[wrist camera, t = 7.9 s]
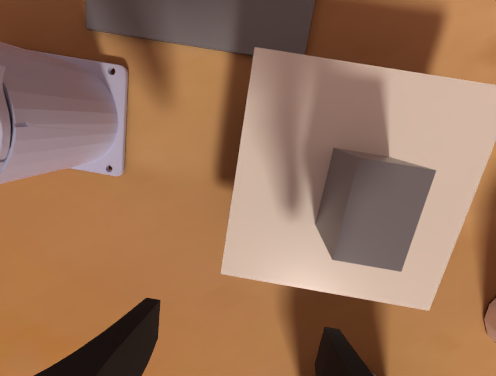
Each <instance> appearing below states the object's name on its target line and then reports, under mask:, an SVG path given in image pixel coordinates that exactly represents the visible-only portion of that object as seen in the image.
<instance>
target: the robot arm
mask: <svg viewBox="0 0 496 376" xmlns="http://www.w3.org/2000/svg"><path fill="white" fill-rule="evenodd" d="M113 68H114V69H115V74H114V75H112V73H111V70H112V69H113ZM127 90H128V71H127V69H126V68H125V67H124V66H121V65H118V64H112V63H106V62H100V61H94V60H87V59H81V58H75V57H69V56H63V55H57V54H50V53H44V52H38V51H32V50H27V49H23V48H20V47H17V46H13V45H10V44H7V43H3V42H0V184H2V183H6V182H10V181H14V180H19V179H23V178H27V177H31V176H36V175H40V174H44V173H48V172H53V171H57V170H61V169H65V168H71V169H77V170H83V171H89V172H95V173H101V174H106V175H112V176H119V175H122V174H123V173H124V164H125V139H126V115H127ZM109 165H110V166H111V167H112V169H113V170H112V171H110V170H109ZM159 312H160V300H157V299H151V298H146V299H144V300H143V301H142V302H141V303H139V304H138V305H137V306H136V307H134V308H133V309H132V310H131V311H129V312H128V313H127V314H126V315H124V316H123V317H122V318H121V319H119V320H118V321H117V322H116V323H114V324H113V325H112V326H110V327H109V328H108V329H106V330H105V331H104V332H102V333H101V334H100V335H98V336H97V337H95V338H94V339H93V340H91V341H90V342H88V343H87V344H85V345H84V346H83V347H81V348H80V349H78V350H77V351H75V352H74V353H72V354H70V355H69V356H67V357H66V358H64V359H62V360H61V361H59V362H58V363H56V364H54V365H53V366H51V367H49V368H47V369H45V370H44V371H42V372H40V373H38V374H36V375H34V376H142V374H143V372H144V370H145V368H146V366H147V364H148V362H149V359H150V357H151V354H152V352H153V349H154V347H155V344H156V342H157V339H158V327H159ZM315 371H316V376H374V375H373V374H372V373H371V371H370V370H369V369H368V368H367V366H366V365H365V364H364V362H363V361H362V360H361V359H360V357H359V356H358V354H357V353H356V352H355V350H354V349H353V348H352V346H351V345H350V344H349V342H348V341H347V340H346V338H345V337H344V336H343V334H342V333H341V332H340V330H339V329H334V328H328V327H324V331H323V335H322V339H321V343H320V347H319V351H318V355H317V358H316V362H315Z"/></svg>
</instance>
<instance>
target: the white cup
mask: <svg viewBox="0 0 496 376" xmlns="http://www.w3.org/2000/svg"><path fill="white" fill-rule="evenodd" d="M484 322H485V326H486V331H487V334H488V336H489V337H490V338H491V339H492V340H493V341H494V342H495V343H496V298H495V299H494V300H493V301H492V302H491V303H490V304H489V306H488V309H487V312H486V315H485V318H484Z"/></svg>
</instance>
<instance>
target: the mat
mask: <svg viewBox="0 0 496 376" xmlns="http://www.w3.org/2000/svg"><path fill="white" fill-rule="evenodd" d="M314 5H315V0H86V28H87V29H89V30H93V31H100V32H106V33H112V34H118V35H125V36H131V37H137V38H144V39H150V40H156V41H162V42H169V43H175V44H181V45H187V46H194V47H200V48H206V49H212V50H219V51H225V52H231V53H238V54H244V55H250V56H253V55H254V48H255V47H258V48H265V49H271V50H277V51H284V52H290V53H296V54H303V55H305V51H306V46H307V41H308V36H309V31H310V26H311V21H312V15H313V10H314Z"/></svg>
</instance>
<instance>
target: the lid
mask: <svg viewBox="0 0 496 376" xmlns="http://www.w3.org/2000/svg"><path fill="white" fill-rule="evenodd" d="M495 141H496V85H492V84H486V83H480V82H473V81H467V80H461V79H454V78H448V77H442V76H435V75H429V74H423V73H416V72H410V71H404V70H397V69H391V68H385V67H378V66H372V65H366V64H360V63H353V62H347V61H341V60H334V59H328V58H322V57H315V56H309V55H303V54H296V53H290V52H284V51H277V50H271V49H265V48H258V47H255V48H254V55H253V62H252V68H251V75H250V82H249V88H248V95H247V102H246V108H245V115H244V122H243V128H242V135H241V142H240V148H239V155H238V162H237V169H236V175H235V182H234V189H233V195H232V202H231V209H230V215H229V222H228V229H227V235H226V242H225V249H224V255H223V262H222V269H221V274H224V275H230V276H235V277H241V278H247V279H252V280H258V281H264V282H269V283H275V284H281V285H286V286H292V287H298V288H303V289H309V290H315V291H320V292H326V293H332V294H337V295H343V296H349V297H354V298H360V299H366V300H371V301H377V302H383V303H388V304H394V305H400V306H405V307H411V308H417V309H422V310H428V311H429V310H430V307H431V305H432V302H433V299H434V297H435V294H436V292H437V289H438V287H439V284H440V282H441V279H442V276H443V274H444V271H445V269H446V266H447V264H448V261H449V259H450V256H451V254H452V251H453V248H454V246H455V243H456V241H457V238H458V236H459V233H460V231H461V228H462V225H463V223H464V220H465V218H466V215H467V213H468V210H469V208H470V205H471V202H472V200H473V197H474V195H475V192H476V190H477V187H478V185H479V182H480V179H481V177H482V174H483V172H484V169H485V167H486V164H487V162H488V159H489V156H490V154H491V151H492V149H493V146H494V144H495Z"/></svg>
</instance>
